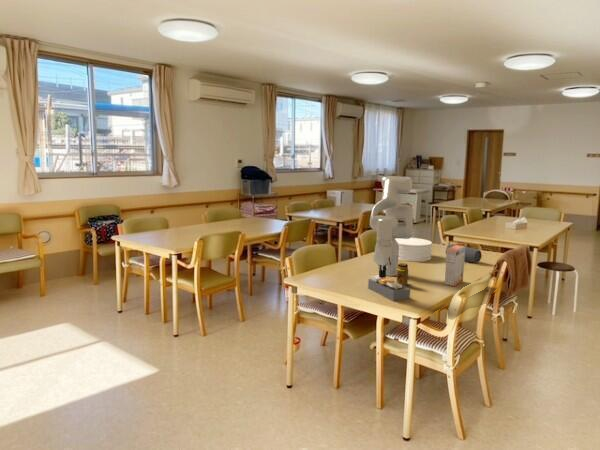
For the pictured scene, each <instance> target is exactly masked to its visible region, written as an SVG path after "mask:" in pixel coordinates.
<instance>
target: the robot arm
mask: <svg viewBox="0 0 600 450" xmlns="http://www.w3.org/2000/svg"><path fill="white" fill-rule="evenodd" d="M381 186H382V194H381V199H380V200H379V201H378V202H376V204H374V206H373V208H372V209H371V213H370V217H369V226H370V228H371V229H373V230H376V244H375V246H374V255H373V262H375V263H376V264H377V265H378V275H379V277H380V278H383V277H386V278H387V276H389V277H395V276H396V277H397V269H398V264H399V259H398V255H399V244H398V242H397V241H396V240H395V238H400V239H409V238H412V235H413V226H414V225H413V221H414V213H413V212H414V209H413V207H412V206H411V205H409V204H402V202H401V198H402V197H401V194H402V195H408V194H410V192H411V191H412V188H413V179H412V177H410V176H397V175H396V176H395V175H388V176H387V175H386V176H383V177H382V179H381ZM383 211H385V215H381V214H380V212H383ZM399 221H403V222H399Z"/></svg>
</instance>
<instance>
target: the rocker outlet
mask: <svg viewBox="0 0 600 450" xmlns="http://www.w3.org/2000/svg"><path fill="white" fill-rule="evenodd" d="M386 285H388V286H390V287H392V288H395V289H398V288H402V285H401V284H398V283H397V282H395V283H392V282H387V284H386Z"/></svg>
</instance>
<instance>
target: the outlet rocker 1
mask: <svg viewBox="0 0 600 450" xmlns="http://www.w3.org/2000/svg"><path fill="white" fill-rule="evenodd" d="M370 279H371V280H373V281H375V282H377V281H379V280H380V279H387V276H386V277H383V278H380V277H379V274H377V275H373V276H370Z"/></svg>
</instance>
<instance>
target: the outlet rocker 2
mask: <svg viewBox="0 0 600 450" xmlns="http://www.w3.org/2000/svg"><path fill="white" fill-rule="evenodd" d="M387 282H392V283H394V282H395V280H394V279H392V278H390V277H388V278H387V277H386V279H380V280H379V283H381V284H383V285H384V284H387Z"/></svg>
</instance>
